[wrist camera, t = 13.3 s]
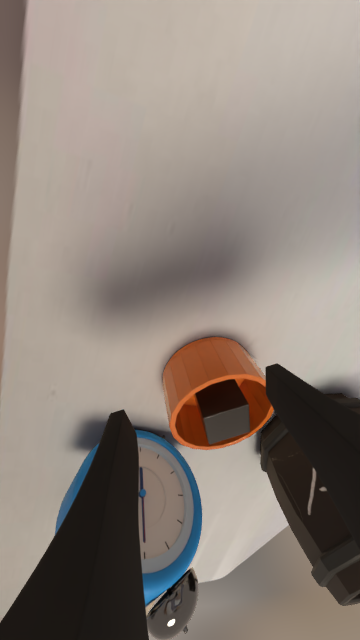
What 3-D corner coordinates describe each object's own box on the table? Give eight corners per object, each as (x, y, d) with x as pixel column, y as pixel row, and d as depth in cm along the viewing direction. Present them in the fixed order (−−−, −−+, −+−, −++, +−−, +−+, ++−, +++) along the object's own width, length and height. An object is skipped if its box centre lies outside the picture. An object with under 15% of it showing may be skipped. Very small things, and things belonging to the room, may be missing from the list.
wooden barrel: (383, 382, 33) (560, 514, 19) (327, 454, 41) (423, 582, 28) (277, 385, 28) (410, 560, 15) (238, 466, 37) (301, 623, 23)
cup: (247, 325, 23) (278, 360, 18) (250, 391, 28) (274, 431, 23) (152, 352, 22) (157, 395, 17) (173, 414, 27) (181, 460, 22)
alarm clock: (187, 434, 30) (231, 616, 17) (166, 461, 32) (191, 640, 19) (87, 418, 25) (42, 660, 12) (71, 451, 27) (17, 685, 14)
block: (223, 358, 24) (249, 404, 18) (226, 384, 26) (250, 432, 20) (187, 368, 23) (203, 418, 18) (193, 394, 25) (209, 445, 20)
